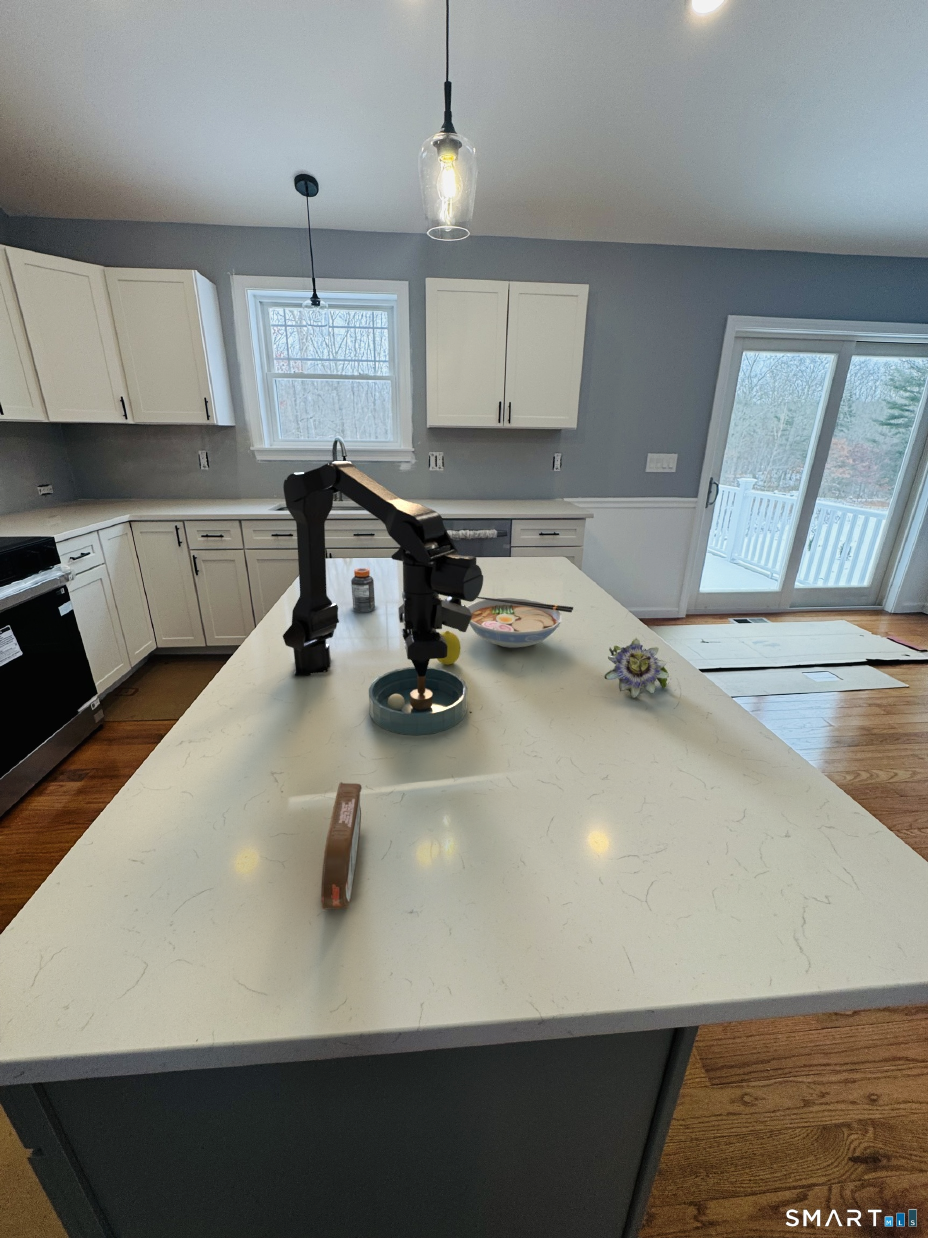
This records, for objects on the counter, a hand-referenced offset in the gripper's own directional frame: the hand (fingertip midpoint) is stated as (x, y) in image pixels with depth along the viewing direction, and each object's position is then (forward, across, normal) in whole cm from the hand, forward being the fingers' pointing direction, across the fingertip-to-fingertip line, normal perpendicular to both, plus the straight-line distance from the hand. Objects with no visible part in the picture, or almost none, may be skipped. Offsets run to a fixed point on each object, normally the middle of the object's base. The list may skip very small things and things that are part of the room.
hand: (421, 673), depth 89 cm
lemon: (+8, +17, -8) cm, 20 cm away
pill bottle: (+8, +55, +9) cm, 56 cm away
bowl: (+7, 0, 0) cm, 7 cm away
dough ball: (+4, 0, +4) cm, 5 cm away
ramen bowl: (+8, +27, -24) cm, 37 cm away
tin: (+7, -33, +13) cm, 36 cm away
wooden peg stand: (+6, 0, 0) cm, 6 cm away
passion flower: (+7, +2, -42) cm, 43 cm away
